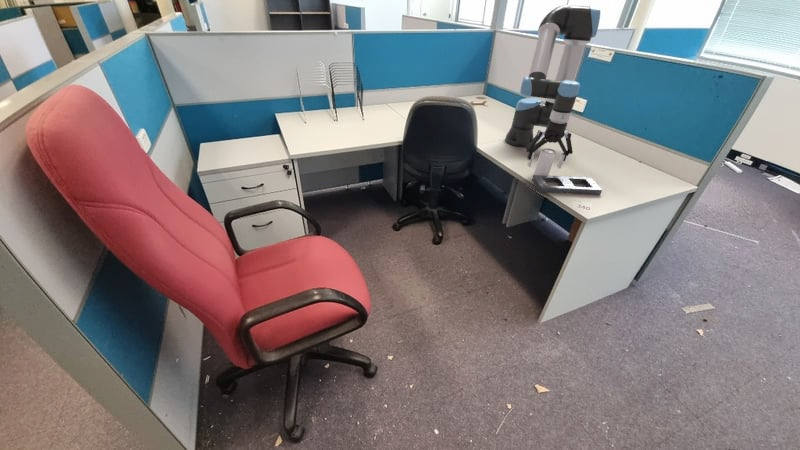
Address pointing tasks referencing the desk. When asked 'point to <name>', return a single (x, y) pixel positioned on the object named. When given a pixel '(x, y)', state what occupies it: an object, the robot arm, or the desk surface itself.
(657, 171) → the desk surface
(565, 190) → the holder
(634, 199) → the desk surface
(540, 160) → the can
